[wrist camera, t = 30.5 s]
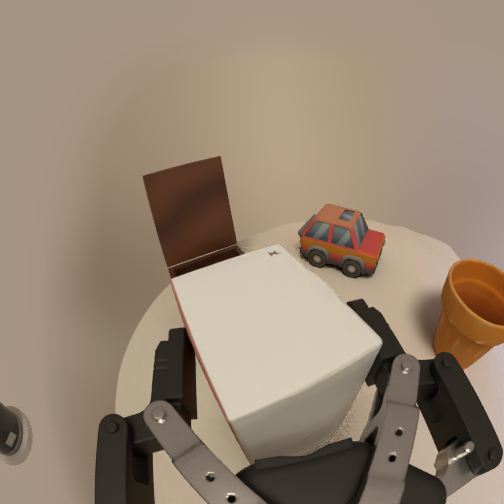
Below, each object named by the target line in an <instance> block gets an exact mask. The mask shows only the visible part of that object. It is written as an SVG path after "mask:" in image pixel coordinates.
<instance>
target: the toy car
mask: <svg viewBox="0 0 504 504" xmlns="http://www.w3.org/2000/svg"><path fill="white" fill-rule="evenodd" d="M298 234H299V236H300V239H301V240H300V242H301V245H302V247H301V248H300V253H301V254H302V255H303V256H305V257H306V258H307V257H308V258H309V261H310V263H311V264H312V265H313V266H316V267H323V266H324V265H325V264H326V262H327V264H334V265H337V266H339V267H340V268H341V266H342V265H343V266H342V270H343V272H344V273H345V274H346V275H347V276H349V277H353V278H354V277H357V276H359V275H360V273H362V274H368V275H370V274H373V273H374V272H375V270H376V267H377V264H378V262H379V259H380V255H381V252H382V247H383V246H384V244H385V235H384V234H383V233H381V232H377V231H373V230H370V229H368V227H367V224H366V222H365V220H364V218H363V215H362V213H361V212H359V211H357V210H353V209H349V208H344V207H340V206H335V205H331V204H328V205H327V204H326V205H325V206H324V207H323V208H322V209H321V210H320V212H319V213H318V214H317V215H313V216H312V217H311V218H310V219H309V220H308V221H307V222H306V224H305V225H304V226H303V227H302V228H301V229H300V230H299V231H298Z"/></svg>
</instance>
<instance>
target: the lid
mask: <svg viewBox="0 0 504 504" xmlns="http://www.w3.org/2000/svg"><path fill="white" fill-rule="evenodd" d="M143 180H144V185H145V189H146V193H147V197H148V201H149V205H150V209H151V213H152V216H153V220H154V224H155V227H156V231H157V234H158V238H159V241H160V244H161V248H162V251H163V254H164V258H165V261H166V264H167V267H170V266H173V265H176V264H178V263H181V262H184V261H187V260H190V259H193V258H196V257H198V256H201V255H204V254H207V253H210V252H213V251H216V250H219V249H222V248H225V247H228V246H230V245H233V244H236V243H237V241H236V236H235V231H234V225H233V220H232V215H231V210H230V204H229V199H228V194H227V189H226V184H225V178H224V172H223V167H222V162H221V157H220V156H218V157H214V158H209V159H205V160H200V161H196V162H192V163H188V164H184V165H180V166H176V167H172V168H168V169H165V170H161V171H157V172H154V173H151V174H147V175H144V176H143Z"/></svg>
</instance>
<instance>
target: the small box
mask: <svg viewBox="0 0 504 504" xmlns="http://www.w3.org/2000/svg"><path fill="white" fill-rule="evenodd" d="M171 285H172V289H173V292H174V295H175V298H176V301H177V305H178V308H179V311H180V314H181V316H182V319H183V322H184V325H185V328H186V330H187V333H188V336H189V338H190V341H191V343H192V346H193V348H194V351H195V353H196V356H197V358H198V361H199V363H200V365H201V368H202V370H203V372H204V374H205V377H206V379H207V381H208V383H209V385H210V388H211V390H212V392H213V394H214V396H215V398H216V400H217V402H218V404H219V406H220V408H221V410H222V412H223V414H224V416H225V418H226V420H227V422H228V424H229V426H230V428H231V430H232V432H233V434H234V436H235V438H236V440H237V441H238V443H239V445H240V447H241V449H242V451H243V452H244V454H245V456H246V458H247V459H248V461H249V463H250V465H252V464H255V462H254V460H256V459H263V458H270V457H275V456H301V455H303V454H305V453H307V452H309V451H311V450H313V449H314V448H316V447H318V446H320V445H322V444H323V443H325V442H327V441H328V440H330V439H331V438H332V437H333V435H334V434H335V432H336V431H337V429H338V427H339V426H340V424H341V423H342V421H343V419H344V418H345V416H346V414H347V412H348V410H349V409H350V407H351V405H352V403H353V402H354V400H355V398H356V396H357V394H358V393H359V391H360V389H361V387H362V385H363V383H364V381H365V379H366V377H367V375H368V373H369V371H370V369H371V367H372V365H373V363H374V360H375V358H376V356H377V354H378V352H379V350H380V348H381V346H382V344H383V343H382V339H381V338H380V336H379V335H377V334H376V333H375V332H374V330H373V329H372V328H371V327H370V326H369V325H368V324H367V323H365V322H364V321H363V320H362V319H361V318H360V317H359V316H358V314H357V313H355V312H354V311H353V310H352V309H351V308H350V307H349V306H348V305H347V304H346V303H345V302H344V301H343V300H342V299H341V298H340V297H339V296H338V295H337V294H336V293H335V292H334V291H333V290H332V288H331V287H330V286H329V285H328V284H327V283H326V282H325V281H323V280H322V279H321V278H320V277H319V276H318V275H316V274H315V273H314V272H313V271H311V270H310V269H308V268H307V267H306V266H305V265H304V264H303V263H302V262H300V261H299V260H298V259H297V258H296V257H295V256H294V255H292V254H291V253H290V252H289V251H288V250H287V249H286V248H285V247H283V246H282V245H281V244H276V245H272V246H269V247H265V248H262V249H258V250H255V251H252V252H249V253H246V254H243V255H240V256H237V257H234V258H231V259H228V260H225V261H222V262H219V263H216V264H213V265H210V266H207V267H204V268H201V269H198V270H195V271H192V272H189V273H187V274H184V275H181V276H178V277H175V278H172V279H171Z"/></svg>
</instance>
